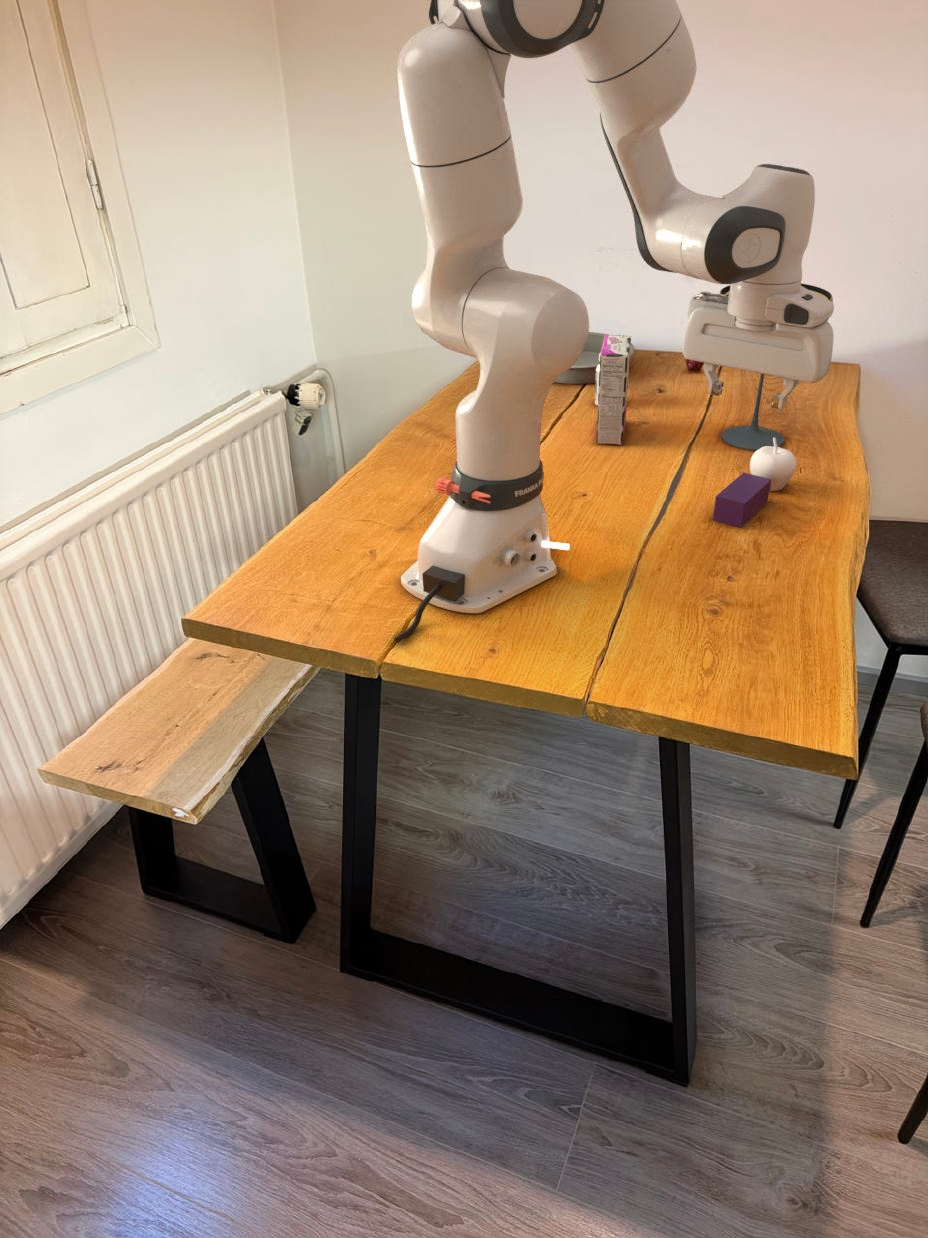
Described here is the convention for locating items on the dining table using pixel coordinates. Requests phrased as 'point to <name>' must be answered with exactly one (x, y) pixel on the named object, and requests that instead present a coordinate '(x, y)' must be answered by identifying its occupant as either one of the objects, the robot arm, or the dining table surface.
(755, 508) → the purple rectangular block
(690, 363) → the dice
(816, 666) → the dining table surface
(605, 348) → the candy bar box
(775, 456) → the plain white apple
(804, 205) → the robot arm
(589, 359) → the cake pan
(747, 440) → the cocktail glass
